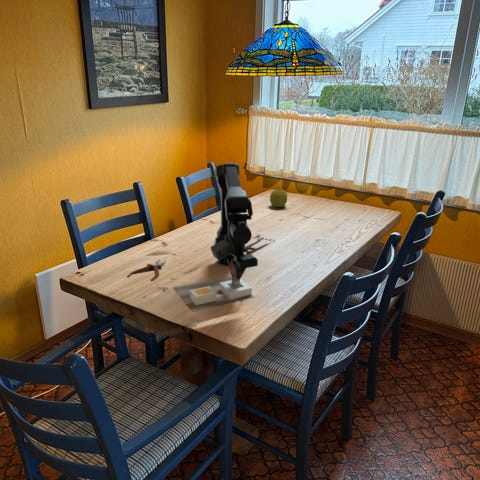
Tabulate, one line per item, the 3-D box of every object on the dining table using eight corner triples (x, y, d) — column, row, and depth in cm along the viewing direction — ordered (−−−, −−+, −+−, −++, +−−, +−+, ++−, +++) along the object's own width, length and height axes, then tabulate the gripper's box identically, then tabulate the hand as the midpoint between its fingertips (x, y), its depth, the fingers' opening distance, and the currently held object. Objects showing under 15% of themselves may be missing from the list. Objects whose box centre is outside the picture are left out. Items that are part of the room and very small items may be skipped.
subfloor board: (172, 291, 152) (172, 287, 151) (230, 279, 161) (230, 275, 161) (192, 316, 137) (192, 311, 136) (254, 301, 147) (254, 297, 146)
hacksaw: (249, 256, 183) (249, 252, 182) (229, 250, 188) (229, 247, 188) (278, 239, 201) (278, 236, 201) (259, 234, 207) (259, 231, 206)
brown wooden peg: (228, 283, 149) (228, 259, 146) (238, 281, 151) (238, 257, 147) (233, 288, 146) (233, 263, 143) (242, 286, 148) (243, 261, 144)
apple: (278, 203, 255) (279, 185, 251) (290, 207, 248) (291, 188, 244) (265, 206, 249) (266, 187, 245) (277, 210, 242) (278, 191, 238)
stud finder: (189, 298, 144) (189, 289, 143) (209, 294, 147) (209, 285, 146) (195, 305, 140) (195, 296, 139) (215, 300, 143) (215, 291, 142)
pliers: (176, 264, 174) (176, 258, 173) (154, 287, 156) (153, 280, 155) (149, 261, 177) (149, 255, 176) (124, 282, 158) (124, 276, 157)
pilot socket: (219, 289, 151) (219, 282, 150) (240, 284, 154) (240, 278, 153) (230, 299, 144) (230, 292, 143) (251, 294, 148) (251, 287, 147)
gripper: (202, 227, 146) (202, 270, 151) (227, 246, 130) (226, 293, 136) (232, 223, 151) (231, 264, 156) (259, 241, 135) (257, 286, 141)
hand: (235, 276), depth 147 cm, fingers closed on brown wooden peg, 4 cm apart
